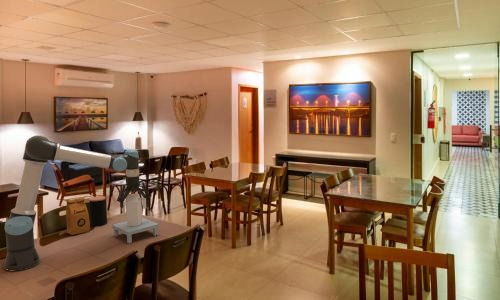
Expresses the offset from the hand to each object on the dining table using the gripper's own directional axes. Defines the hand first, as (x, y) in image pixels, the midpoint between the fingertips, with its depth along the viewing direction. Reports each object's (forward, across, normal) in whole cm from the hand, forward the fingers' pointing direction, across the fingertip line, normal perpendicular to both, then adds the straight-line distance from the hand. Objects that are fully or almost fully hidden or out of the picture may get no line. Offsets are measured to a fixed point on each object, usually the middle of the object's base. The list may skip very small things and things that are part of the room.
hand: (134, 210), depth 221 cm
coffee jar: (+16, -6, +40) cm, 43 cm away
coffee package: (+16, -22, +32) cm, 42 cm away
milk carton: (+9, 0, 0) cm, 9 cm away
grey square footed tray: (+16, 0, 0) cm, 16 cm away
